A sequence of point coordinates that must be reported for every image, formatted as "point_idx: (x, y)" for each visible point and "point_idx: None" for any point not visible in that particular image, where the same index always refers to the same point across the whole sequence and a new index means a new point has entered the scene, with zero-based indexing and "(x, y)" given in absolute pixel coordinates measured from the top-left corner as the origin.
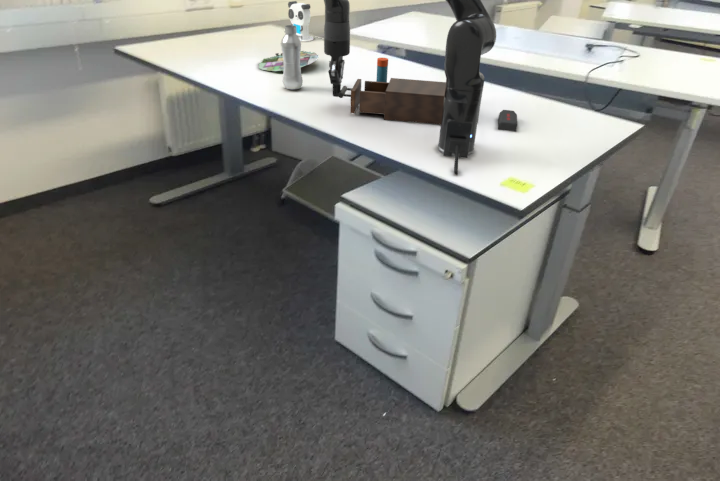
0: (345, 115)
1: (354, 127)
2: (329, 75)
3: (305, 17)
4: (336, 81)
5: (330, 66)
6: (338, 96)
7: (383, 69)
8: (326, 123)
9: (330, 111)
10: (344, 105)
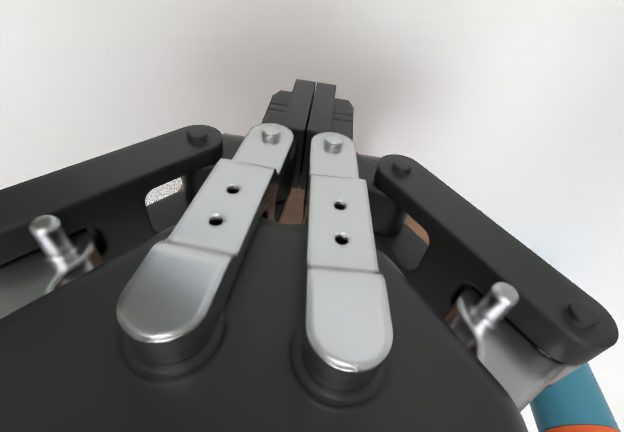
0: (206, 124)
1: (68, 163)
2: (18, 188)
3: None
4: (184, 194)
5: (158, 263)
6: (222, 134)
7: (534, 415)
8: (25, 15)
9: (247, 28)
10: (376, 116)
